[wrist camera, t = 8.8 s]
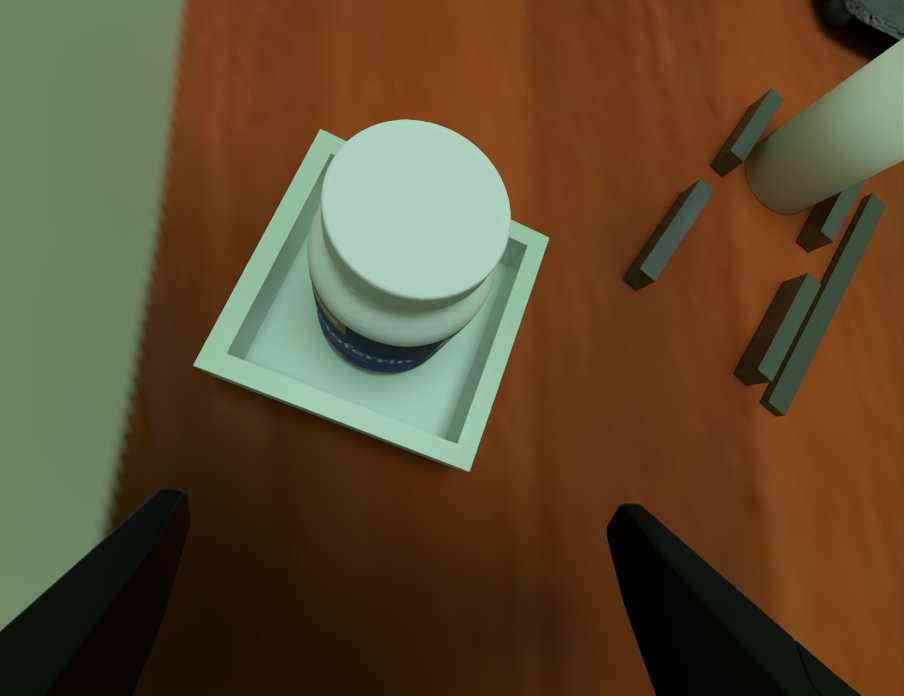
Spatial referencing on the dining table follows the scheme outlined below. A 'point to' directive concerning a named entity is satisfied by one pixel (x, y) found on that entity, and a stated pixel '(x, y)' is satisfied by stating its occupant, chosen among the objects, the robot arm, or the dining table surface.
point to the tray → (332, 379)
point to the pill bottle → (404, 243)
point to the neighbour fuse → (834, 139)
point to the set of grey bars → (799, 299)
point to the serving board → (866, 14)
